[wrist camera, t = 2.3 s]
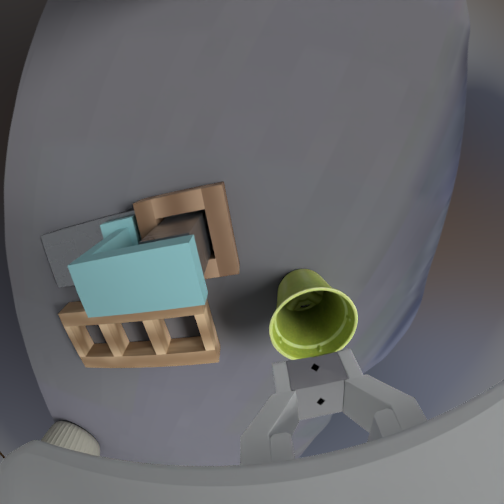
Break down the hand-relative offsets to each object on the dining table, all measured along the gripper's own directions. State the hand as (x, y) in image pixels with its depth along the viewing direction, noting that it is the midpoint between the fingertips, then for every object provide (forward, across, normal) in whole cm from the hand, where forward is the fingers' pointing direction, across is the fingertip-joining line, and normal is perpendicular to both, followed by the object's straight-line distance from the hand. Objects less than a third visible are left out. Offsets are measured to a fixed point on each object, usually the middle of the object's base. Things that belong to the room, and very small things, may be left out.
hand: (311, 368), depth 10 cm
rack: (+24, +20, +12) cm, 34 cm away
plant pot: (+25, -3, +10) cm, 27 cm away
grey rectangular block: (+24, +9, 0) cm, 26 cm away
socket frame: (+24, +17, 0) cm, 30 cm away
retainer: (+23, +13, 0) cm, 26 cm away
